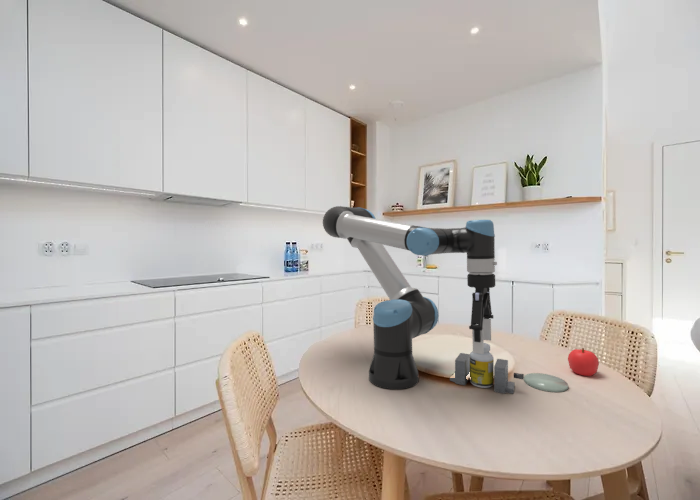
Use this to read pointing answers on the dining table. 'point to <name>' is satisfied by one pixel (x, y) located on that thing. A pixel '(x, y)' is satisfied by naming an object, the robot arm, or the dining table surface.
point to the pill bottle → (482, 368)
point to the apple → (583, 362)
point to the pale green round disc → (546, 382)
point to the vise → (499, 374)
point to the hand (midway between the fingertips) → (482, 346)
